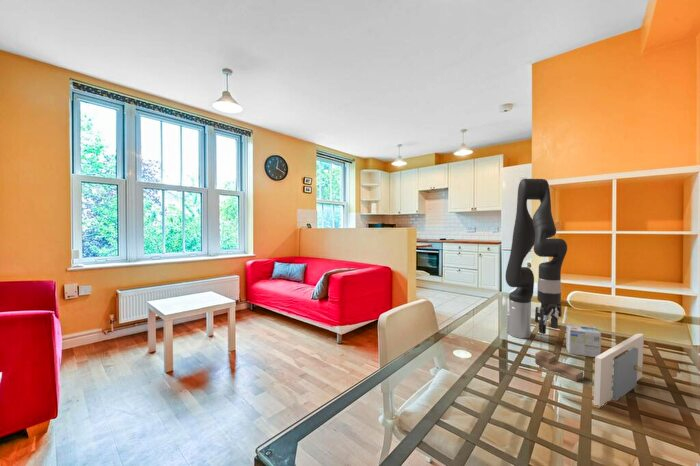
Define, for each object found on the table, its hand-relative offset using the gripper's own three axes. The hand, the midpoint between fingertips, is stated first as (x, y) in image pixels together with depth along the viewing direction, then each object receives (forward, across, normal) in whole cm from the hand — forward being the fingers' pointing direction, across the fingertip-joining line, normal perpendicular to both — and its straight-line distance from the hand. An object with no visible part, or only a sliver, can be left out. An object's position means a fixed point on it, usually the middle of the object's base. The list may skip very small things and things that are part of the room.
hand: (548, 330), depth 113 cm
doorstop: (+14, 0, +4) cm, 15 cm away
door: (+14, -3, +23) cm, 27 cm away
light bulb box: (+14, -22, +2) cm, 27 cm away
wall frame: (+14, -3, +21) cm, 25 cm away
